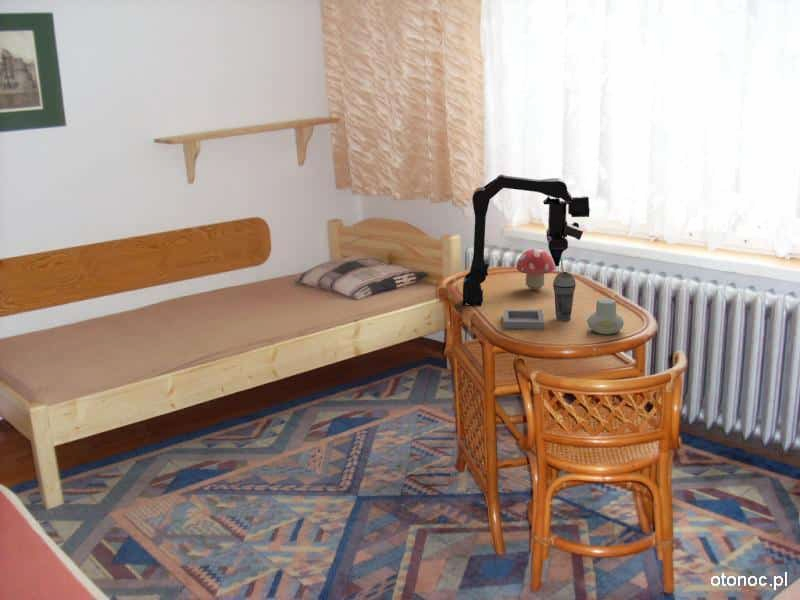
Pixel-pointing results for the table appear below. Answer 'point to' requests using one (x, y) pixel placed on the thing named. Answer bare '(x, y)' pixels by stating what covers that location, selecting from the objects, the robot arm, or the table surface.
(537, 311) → the tray
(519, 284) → the table surface
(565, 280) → the beverage cup
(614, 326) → the air freshener
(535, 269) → the decorative mushroom
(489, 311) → the table surface
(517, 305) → the table surface
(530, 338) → the table surface
